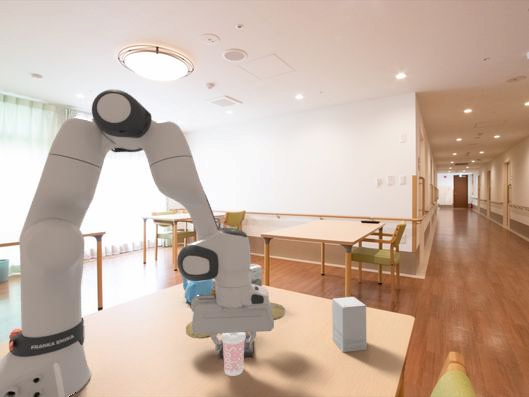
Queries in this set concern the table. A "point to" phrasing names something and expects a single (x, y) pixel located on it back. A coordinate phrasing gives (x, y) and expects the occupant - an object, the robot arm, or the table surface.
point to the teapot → (196, 288)
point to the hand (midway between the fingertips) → (233, 348)
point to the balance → (277, 314)
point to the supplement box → (349, 324)
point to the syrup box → (256, 274)
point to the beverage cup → (233, 352)
